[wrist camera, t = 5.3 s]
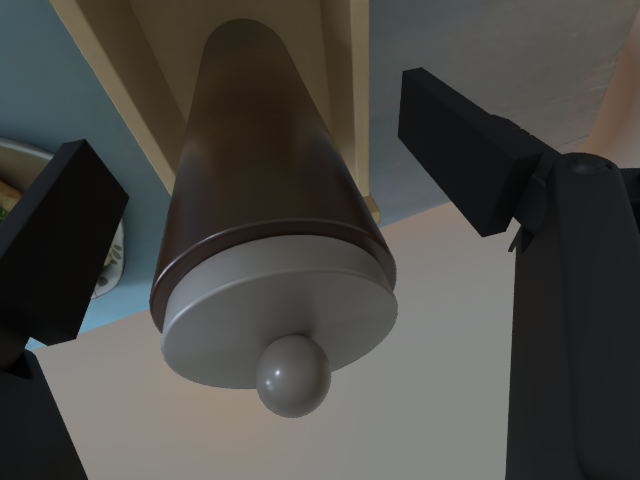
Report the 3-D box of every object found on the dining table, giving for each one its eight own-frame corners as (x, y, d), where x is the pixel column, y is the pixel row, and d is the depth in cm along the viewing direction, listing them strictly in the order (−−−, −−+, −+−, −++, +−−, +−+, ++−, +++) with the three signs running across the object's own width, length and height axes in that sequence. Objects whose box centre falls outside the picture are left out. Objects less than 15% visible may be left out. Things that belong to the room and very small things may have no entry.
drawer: (352, 205, 29) (378, 262, 24) (225, 235, 28) (224, 301, 23) (331, -183, 13) (398, -259, 8) (32, -136, 12) (-108, -186, 7)
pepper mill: (221, 123, 19) (208, 473, 7) (185, 28, 16) (5, 422, 3) (298, 106, 20) (424, 412, 7) (281, 9, 16) (487, 296, 3)
